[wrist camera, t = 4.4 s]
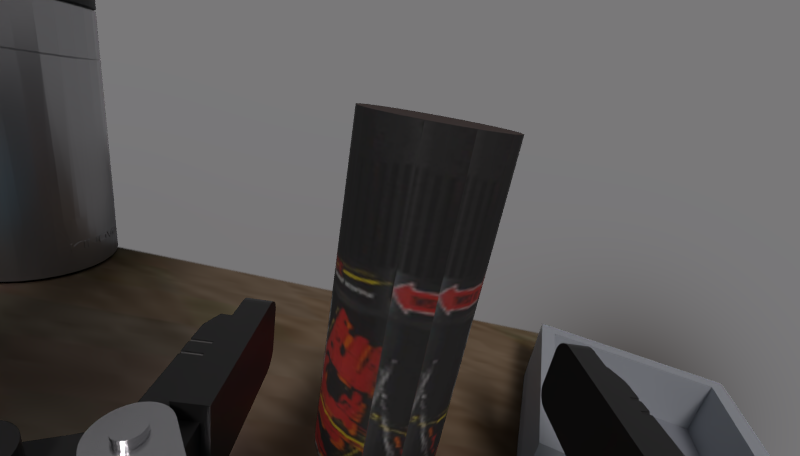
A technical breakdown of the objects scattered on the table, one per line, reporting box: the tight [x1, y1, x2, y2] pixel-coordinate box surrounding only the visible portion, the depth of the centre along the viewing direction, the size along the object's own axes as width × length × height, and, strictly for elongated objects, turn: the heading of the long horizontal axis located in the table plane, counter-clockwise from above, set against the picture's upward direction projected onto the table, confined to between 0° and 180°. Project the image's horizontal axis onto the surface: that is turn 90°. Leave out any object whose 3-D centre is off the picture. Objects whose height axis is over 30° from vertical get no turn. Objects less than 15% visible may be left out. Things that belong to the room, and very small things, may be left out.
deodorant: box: [315, 103, 524, 456], centre depth 16 cm, size 6×6×15 cm
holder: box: [517, 324, 770, 456], centre depth 18 cm, size 9×9×4 cm
